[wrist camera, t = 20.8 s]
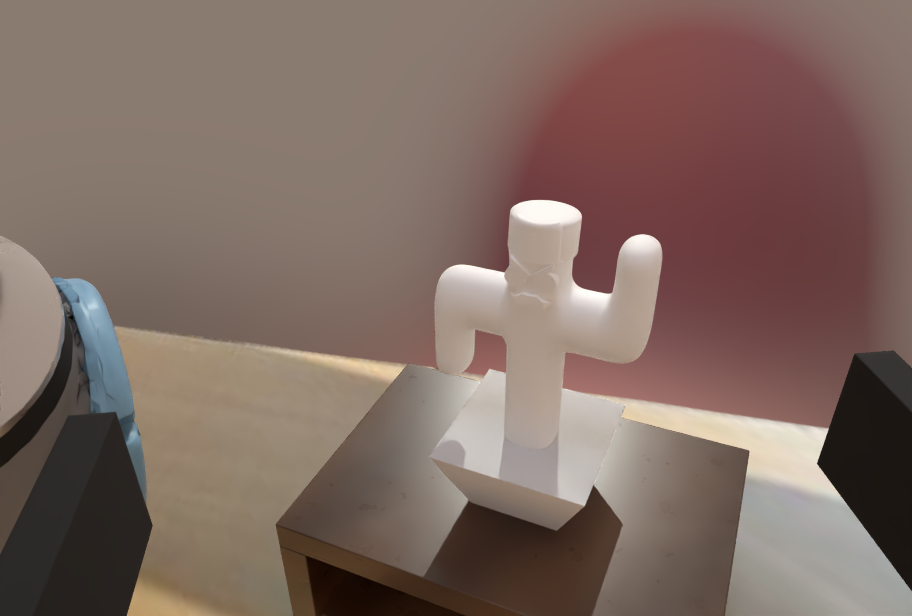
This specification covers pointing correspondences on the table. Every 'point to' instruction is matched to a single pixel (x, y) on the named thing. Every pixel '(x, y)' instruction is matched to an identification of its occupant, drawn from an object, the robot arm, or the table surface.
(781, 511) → the table surface
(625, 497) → the shelf stand
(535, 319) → the figurine
